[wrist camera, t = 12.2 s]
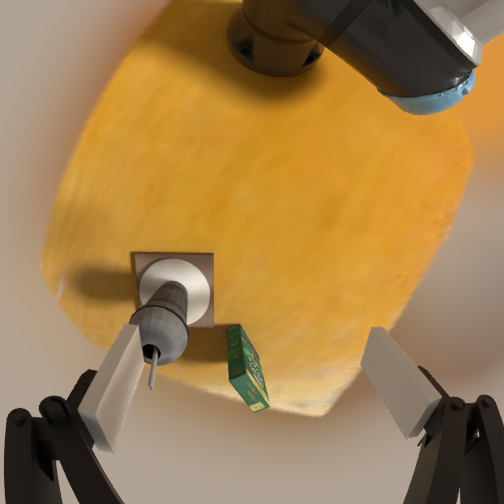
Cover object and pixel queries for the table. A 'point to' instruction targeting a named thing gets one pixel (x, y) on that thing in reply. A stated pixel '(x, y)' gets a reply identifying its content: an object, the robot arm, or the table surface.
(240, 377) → the coffee box
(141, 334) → the beverage cup
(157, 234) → the table surface
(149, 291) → the mount
